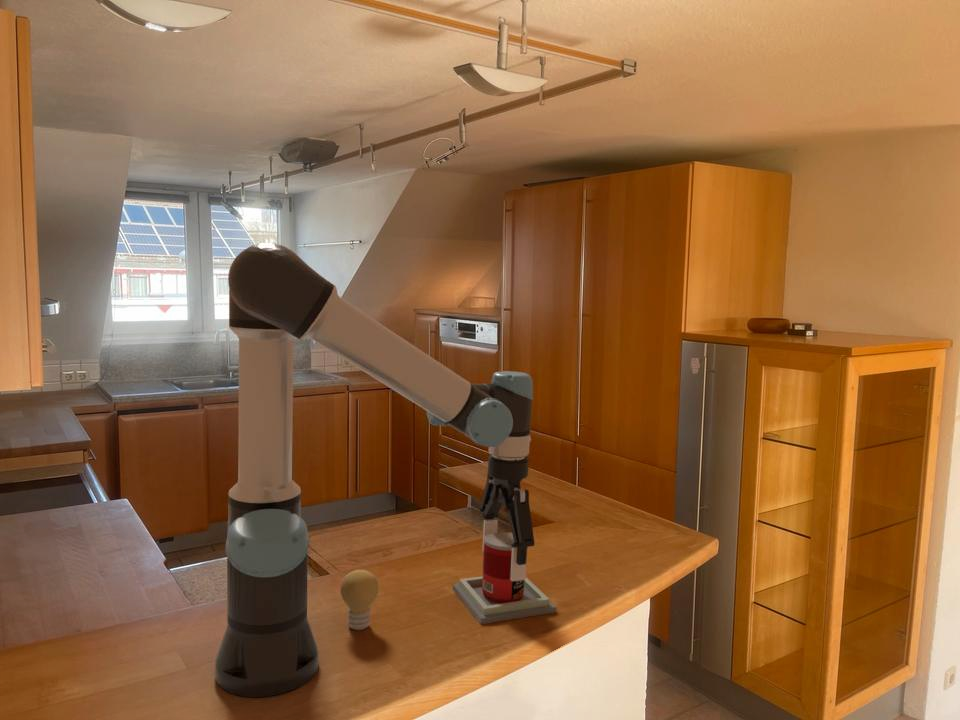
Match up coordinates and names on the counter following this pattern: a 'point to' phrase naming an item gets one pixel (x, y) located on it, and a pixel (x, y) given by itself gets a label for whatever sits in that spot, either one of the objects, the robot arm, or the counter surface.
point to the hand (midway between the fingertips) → (502, 565)
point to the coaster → (493, 611)
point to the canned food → (499, 569)
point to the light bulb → (359, 597)
